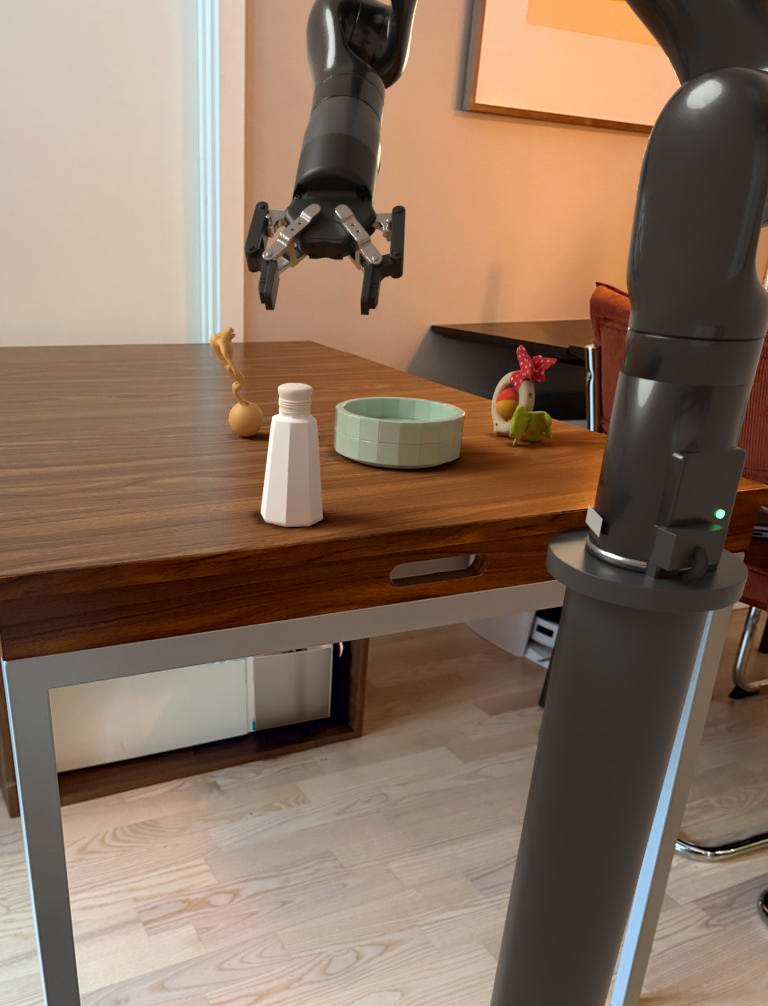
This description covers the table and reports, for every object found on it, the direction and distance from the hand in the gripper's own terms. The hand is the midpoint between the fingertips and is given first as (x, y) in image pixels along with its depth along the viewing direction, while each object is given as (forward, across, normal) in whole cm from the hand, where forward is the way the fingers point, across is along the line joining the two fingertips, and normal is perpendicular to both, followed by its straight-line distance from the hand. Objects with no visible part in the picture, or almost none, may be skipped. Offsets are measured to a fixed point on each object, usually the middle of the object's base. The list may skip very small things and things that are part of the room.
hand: (316, 306), depth 76 cm
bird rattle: (-6, +20, +29) cm, 36 cm away
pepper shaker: (+19, 0, +4) cm, 19 cm away
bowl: (+2, +8, +21) cm, 23 cm away
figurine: (-1, -11, +24) cm, 27 cm away
